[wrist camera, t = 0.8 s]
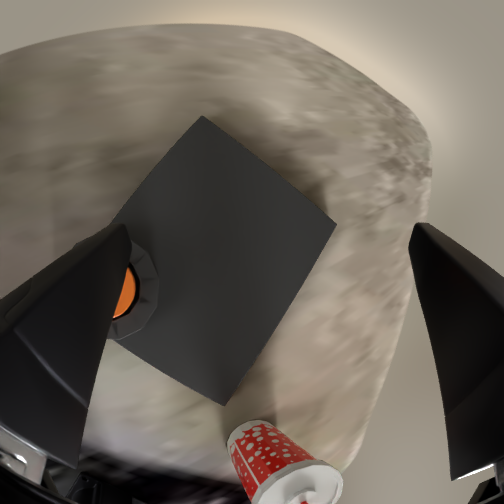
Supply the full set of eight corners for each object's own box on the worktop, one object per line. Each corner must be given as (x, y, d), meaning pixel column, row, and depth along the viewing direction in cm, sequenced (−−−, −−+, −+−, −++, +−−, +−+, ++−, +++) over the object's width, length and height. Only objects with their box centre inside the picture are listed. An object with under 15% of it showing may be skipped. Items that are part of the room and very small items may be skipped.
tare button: (116, 326, 18) (113, 331, 16) (71, 292, 17) (64, 293, 15) (146, 279, 19) (146, 280, 17) (101, 246, 18) (97, 243, 16)
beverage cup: (262, 476, 23) (345, 575, 9) (204, 457, 21) (266, 581, 8) (298, 425, 24) (408, 506, 11) (242, 400, 23) (342, 502, 9)
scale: (218, 403, 22) (229, 419, 19) (54, 294, 19) (41, 297, 16) (329, 226, 26) (350, 220, 24) (192, 116, 23) (198, 97, 20)
